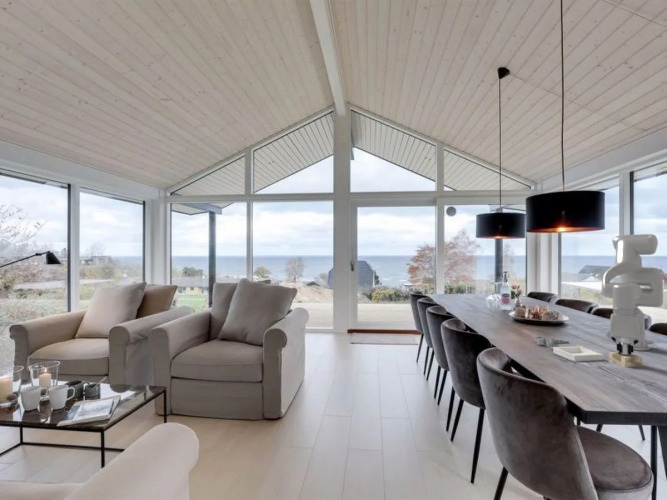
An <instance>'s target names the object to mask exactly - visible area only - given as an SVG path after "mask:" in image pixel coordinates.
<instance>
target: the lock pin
mask: <svg viewBox="0 0 667 500" xmlns="http://www.w3.org/2000/svg"><path fill="white" fill-rule="evenodd" d="M620 344H621V355H623V356H630V354H629V343H625V342H622V341H620Z"/></svg>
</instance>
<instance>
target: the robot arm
mask: <svg viewBox="0 0 667 500" xmlns="http://www.w3.org/2000/svg"><path fill="white" fill-rule="evenodd" d="M658 244H659V241H658V238H657V236H656V235H655V234H653V233H645V234H643V233H642V234H641V233H640V234H624V235H623V234H622V235H620V234H619V235H617V236H614V237H613V238H612V245H613V248H614V249H615V261H614V262H615V264H614V265H612V266H611V267H609V268H608V269H607V270H606V271H605V272H604V274H603V275H602V281H601V293H602V296H603V297H605V298H607V299H612V313H611V315H610V318H609V330H608V332H607V333H606V335H605V337H606V338H607V339H611V340H612V342H614V343H615V344H616V352H619V353H621V344H620V343H621V342H625V343H629V354H630V355H631V354H634V351H650V349H651V348H650V346H648V345H653V344H654V340H653V339H650V340H647V339H646V323H645V322H646V320H645V319H646V318H645V314H644V312H643V311H642V310H641V309H640V308H639V307H643V308H644V307H646V308H661V307H662V305H664V304H663V303H664V287H663V285H664V284H663V275H662V272H661V270H660V269H659V268H657V267H648V266H646V267H643V265H642V263H643V262H642V260H643V259H642V256H645V255H647V256H650V255H654V254H656V252H657V250H658V249H657V248H658ZM618 276H621V277H620V278H621V282H612V280H613V279H614V278H616V277H618ZM641 286H645V287H647V286H648V287H649V288H645V287H643V288H642V287H641ZM620 338H621V341H620Z"/></svg>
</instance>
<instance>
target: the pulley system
mask: <svg viewBox="0 0 667 500" xmlns="http://www.w3.org/2000/svg"><path fill="white" fill-rule="evenodd" d="M534 343H535V344H537V345H542V346H546V347H547V348H549V349H550V350H552V351H553V347H563V346H561V345H562V344H569V340H567V339H562V338H558V339H557V338H555V337H550V338H549V341H548V340H546V337H543V336H536V337H535V338H534ZM560 344H561V345H560Z"/></svg>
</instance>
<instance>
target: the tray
mask: <svg viewBox="0 0 667 500" xmlns="http://www.w3.org/2000/svg"><path fill="white" fill-rule="evenodd" d="M552 352H553V353H552V354H553V355H554V356H556V357H559V358H561V359H562V360H566V361H568V362H571V363H573V364H577V362H588V361H590V362H591V361H604V353H600V352H597V351H594V350H591V349H588V348H585V347H583V346H580V345H579V346H562V347H556V346H553V350H552Z"/></svg>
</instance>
